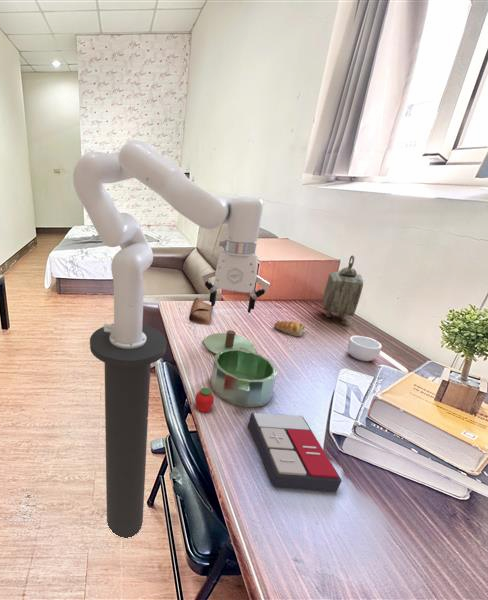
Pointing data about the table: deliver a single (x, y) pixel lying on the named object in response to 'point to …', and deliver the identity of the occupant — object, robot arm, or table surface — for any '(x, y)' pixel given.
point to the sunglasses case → (200, 312)
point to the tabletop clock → (343, 292)
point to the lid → (227, 342)
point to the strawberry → (204, 400)
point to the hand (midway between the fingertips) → (230, 307)
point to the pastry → (290, 327)
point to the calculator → (292, 453)
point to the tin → (243, 377)
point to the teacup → (363, 348)
